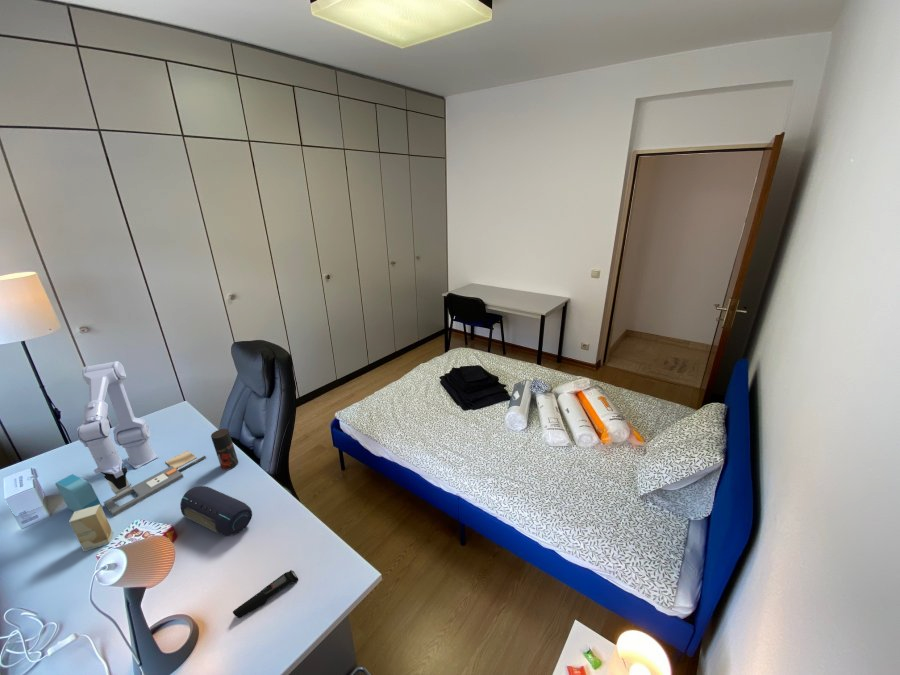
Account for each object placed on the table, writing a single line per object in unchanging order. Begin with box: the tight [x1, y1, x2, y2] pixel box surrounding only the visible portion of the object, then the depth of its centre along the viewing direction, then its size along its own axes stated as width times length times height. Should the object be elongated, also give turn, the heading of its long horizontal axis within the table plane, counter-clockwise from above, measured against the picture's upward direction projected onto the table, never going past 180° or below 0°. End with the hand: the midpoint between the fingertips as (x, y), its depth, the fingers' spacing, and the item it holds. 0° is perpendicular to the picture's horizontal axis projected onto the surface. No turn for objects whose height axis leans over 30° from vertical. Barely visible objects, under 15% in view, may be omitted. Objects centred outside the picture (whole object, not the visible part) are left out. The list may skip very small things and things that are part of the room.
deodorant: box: [210, 428, 239, 471], centre depth 141 cm, size 6×6×15 cm
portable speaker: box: [179, 485, 253, 537], centre depth 117 cm, size 25×10×10 cm, turn 66°
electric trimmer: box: [232, 569, 299, 619], centre depth 95 cm, size 4×16×3 cm, turn 133°
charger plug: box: [107, 477, 132, 496], centre depth 124 cm, size 4×4×6 cm
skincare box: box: [68, 504, 114, 552], centre depth 110 cm, size 6×4×12 cm
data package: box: [55, 474, 103, 513], centre depth 122 cm, size 12×4×12 cm, turn 67°
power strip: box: [103, 455, 207, 517], centre depth 135 cm, size 9×31×2 cm, turn 147°
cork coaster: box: [165, 450, 198, 470], centre depth 146 cm, size 8×8×1 cm
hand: (119, 485), depth 125 cm, fingers closed on charger plug, 4 cm apart
